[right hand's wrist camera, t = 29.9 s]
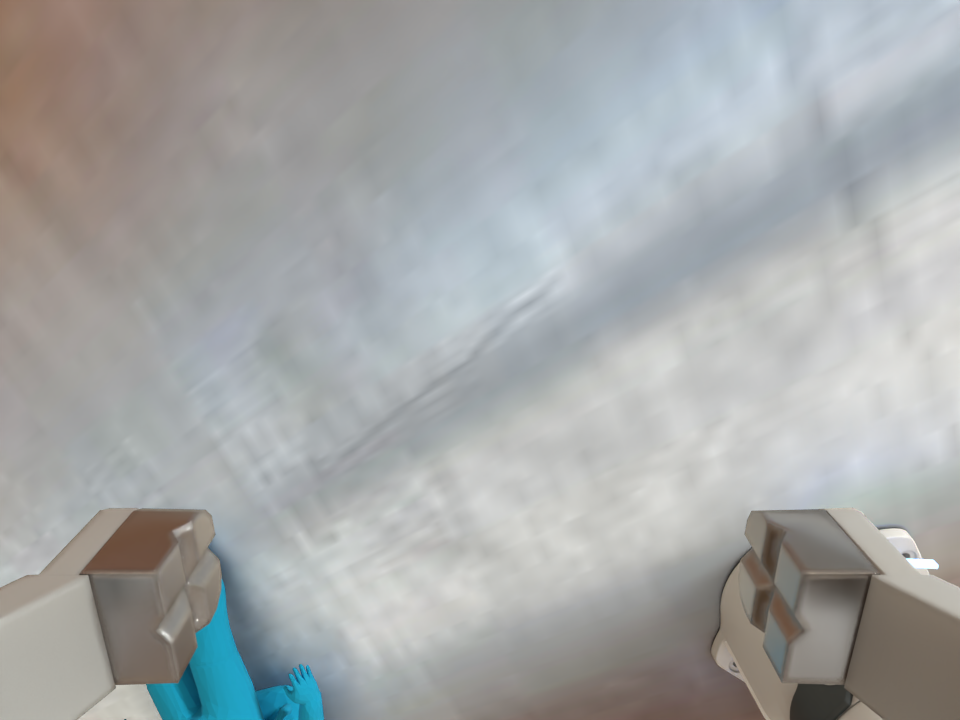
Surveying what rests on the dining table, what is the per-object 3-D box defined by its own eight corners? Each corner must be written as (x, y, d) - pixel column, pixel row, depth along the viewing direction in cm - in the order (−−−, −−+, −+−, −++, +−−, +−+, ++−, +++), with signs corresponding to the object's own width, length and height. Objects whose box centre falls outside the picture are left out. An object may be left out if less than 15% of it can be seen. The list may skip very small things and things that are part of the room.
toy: (216, 540, 47) (376, 909, 50) (276, 490, 57) (405, 797, 60) (13, 611, 49) (177, 960, 52) (107, 550, 60) (238, 844, 62)
